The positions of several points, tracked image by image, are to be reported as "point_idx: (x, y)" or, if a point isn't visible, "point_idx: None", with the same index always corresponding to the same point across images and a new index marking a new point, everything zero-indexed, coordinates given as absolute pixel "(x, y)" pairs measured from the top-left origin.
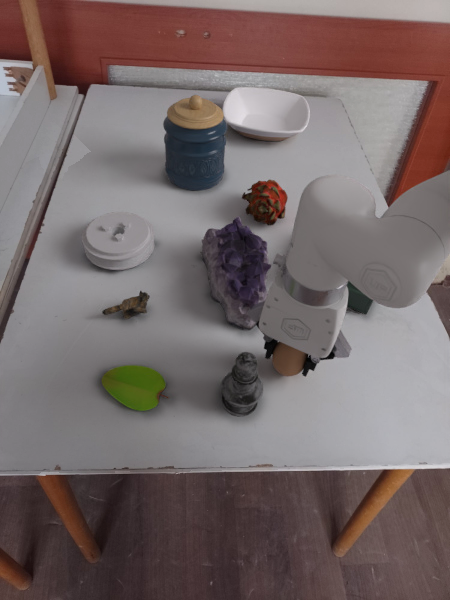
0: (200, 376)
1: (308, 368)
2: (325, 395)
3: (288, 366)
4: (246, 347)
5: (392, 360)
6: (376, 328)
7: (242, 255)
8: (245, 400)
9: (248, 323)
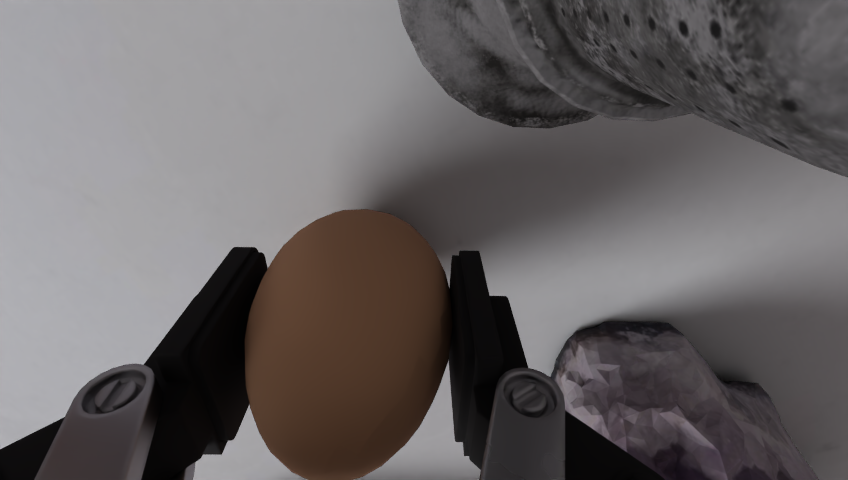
0: None
1: (195, 301)
2: (162, 206)
3: (318, 261)
4: (566, 261)
5: None
6: None
7: None
8: None
9: (600, 361)
